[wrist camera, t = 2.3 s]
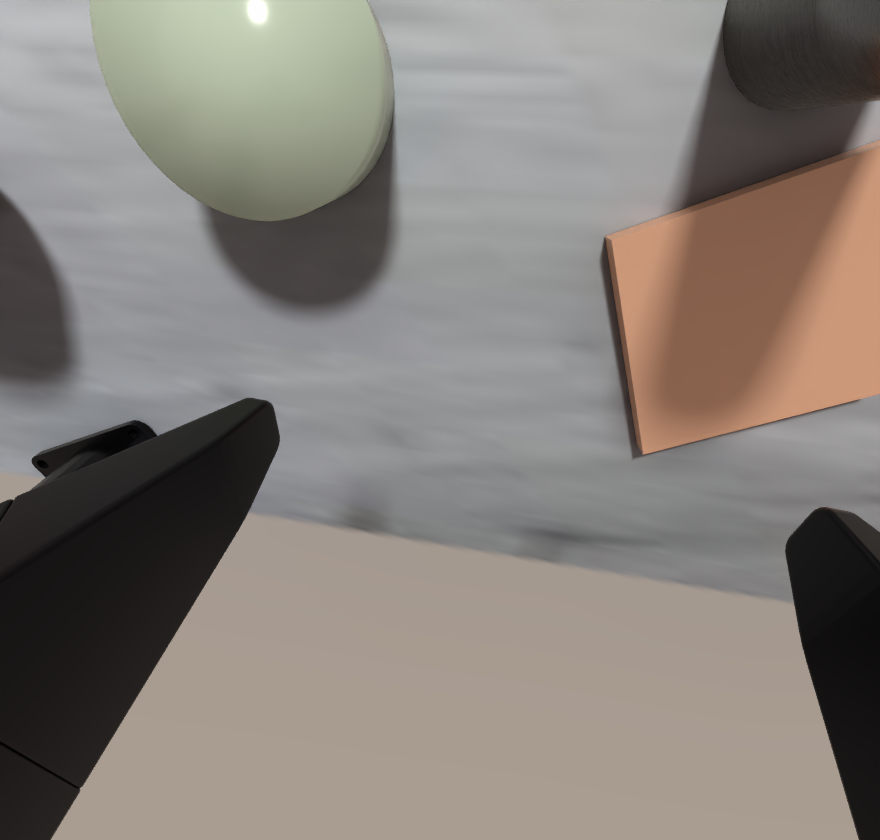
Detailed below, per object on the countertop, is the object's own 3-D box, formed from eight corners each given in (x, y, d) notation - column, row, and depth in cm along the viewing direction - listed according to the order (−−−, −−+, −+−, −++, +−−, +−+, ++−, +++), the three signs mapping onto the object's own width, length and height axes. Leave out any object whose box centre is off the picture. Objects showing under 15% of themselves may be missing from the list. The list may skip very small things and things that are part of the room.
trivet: (637, 444, 22) (643, 454, 21) (604, 236, 17) (611, 240, 16) (869, 384, 20) (884, 392, 19) (909, 129, 15) (931, 128, 14)
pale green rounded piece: (253, 233, 17) (205, 256, 14) (128, 1, 14) (22, -46, 10) (425, 161, 16) (418, 166, 12) (334, -117, 12) (290, -216, 9)
